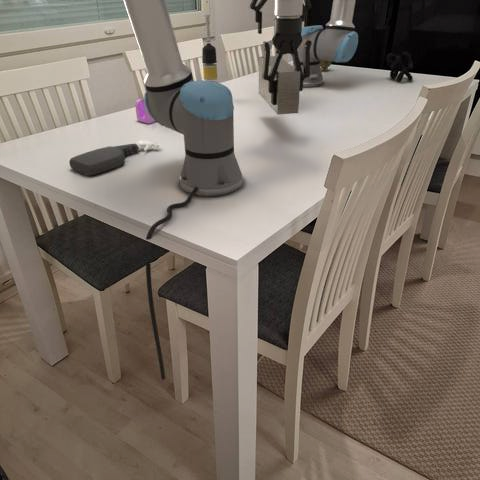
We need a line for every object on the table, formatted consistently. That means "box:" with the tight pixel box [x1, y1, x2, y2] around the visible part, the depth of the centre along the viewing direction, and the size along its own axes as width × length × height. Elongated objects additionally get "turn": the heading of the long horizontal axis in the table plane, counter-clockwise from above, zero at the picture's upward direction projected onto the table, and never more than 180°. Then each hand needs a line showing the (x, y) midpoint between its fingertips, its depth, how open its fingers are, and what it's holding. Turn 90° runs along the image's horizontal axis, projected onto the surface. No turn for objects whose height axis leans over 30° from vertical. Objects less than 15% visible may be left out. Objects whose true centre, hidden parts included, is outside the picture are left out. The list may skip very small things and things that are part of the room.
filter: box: [201, 14, 219, 83], centre depth 171 cm, size 6×6×30 cm
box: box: [258, 55, 300, 116], centre depth 138 cm, size 26×6×12 cm, turn 10°
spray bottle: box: [68, 139, 160, 177], centre depth 124 cm, size 3×11×24 cm
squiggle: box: [385, 51, 414, 83], centre depth 198 cm, size 11×10×15 cm
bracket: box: [134, 98, 156, 124], centre depth 156 cm, size 13×6×7 cm, turn 143°
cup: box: [320, 60, 333, 72], centre depth 218 cm, size 8×7×8 cm
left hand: (284, 103), depth 133 cm, fingers closed on box, 6 cm apart
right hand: (279, 33), depth 149 cm, fingers open, 13 cm apart
